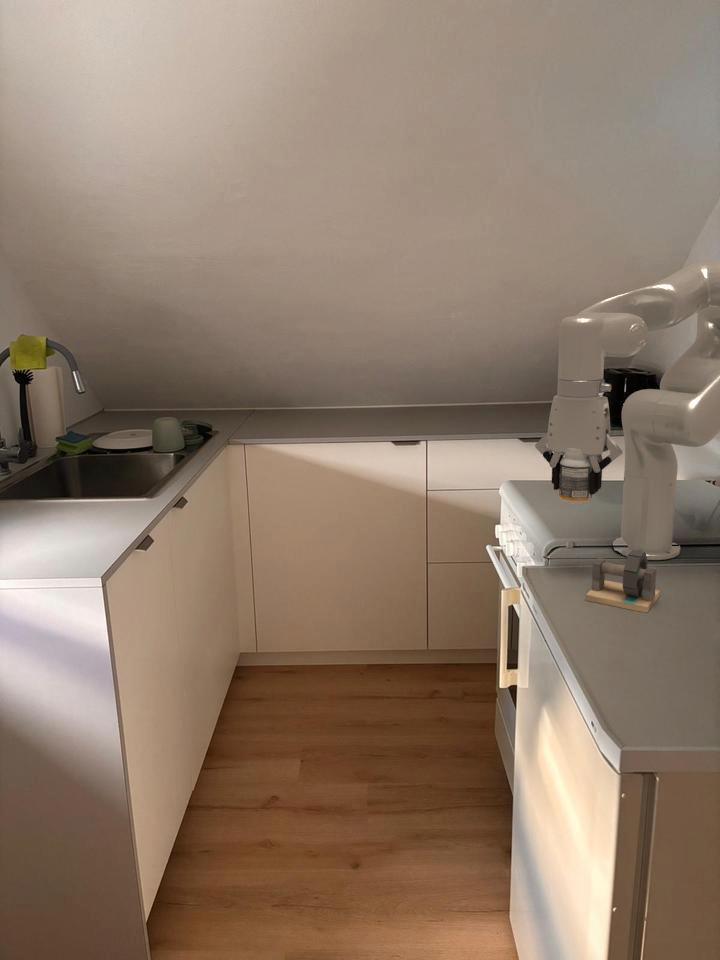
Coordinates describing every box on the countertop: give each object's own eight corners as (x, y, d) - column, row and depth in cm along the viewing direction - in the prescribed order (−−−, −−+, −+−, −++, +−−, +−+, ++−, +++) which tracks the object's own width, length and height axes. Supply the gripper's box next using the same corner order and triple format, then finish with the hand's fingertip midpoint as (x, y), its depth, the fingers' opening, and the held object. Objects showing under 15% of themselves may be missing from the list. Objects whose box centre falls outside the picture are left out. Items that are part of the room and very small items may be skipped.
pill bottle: (567, 494, 141) (569, 441, 139) (597, 499, 138) (599, 445, 135) (553, 501, 137) (555, 447, 135) (583, 506, 134) (586, 450, 131)
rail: (600, 584, 135) (601, 553, 134) (659, 595, 130) (661, 562, 128) (585, 600, 129) (586, 567, 127) (647, 612, 123) (649, 578, 122)
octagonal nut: (633, 584, 131) (636, 546, 130) (645, 587, 130) (648, 548, 128) (621, 599, 126) (624, 558, 124) (634, 601, 125) (636, 560, 123)
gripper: (637, 388, 131) (631, 491, 135) (540, 384, 140) (537, 480, 145) (624, 394, 125) (618, 501, 129) (524, 389, 134) (522, 489, 139)
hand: (575, 489), depth 137 cm, fingers closed on pill bottle, 5 cm apart
